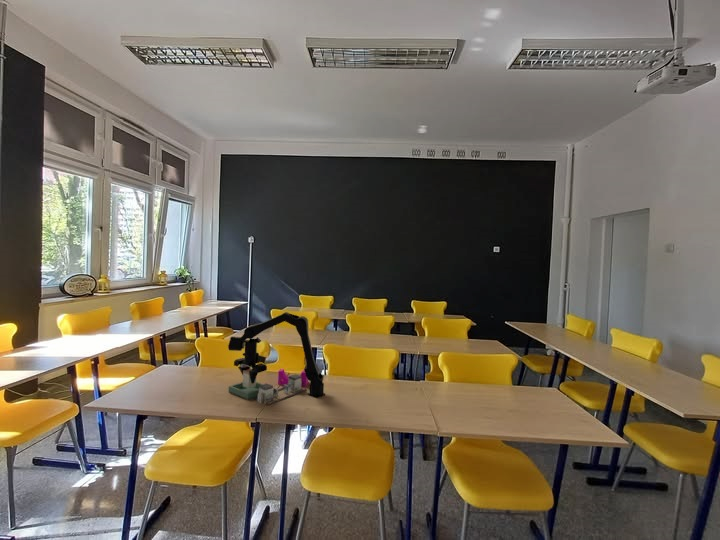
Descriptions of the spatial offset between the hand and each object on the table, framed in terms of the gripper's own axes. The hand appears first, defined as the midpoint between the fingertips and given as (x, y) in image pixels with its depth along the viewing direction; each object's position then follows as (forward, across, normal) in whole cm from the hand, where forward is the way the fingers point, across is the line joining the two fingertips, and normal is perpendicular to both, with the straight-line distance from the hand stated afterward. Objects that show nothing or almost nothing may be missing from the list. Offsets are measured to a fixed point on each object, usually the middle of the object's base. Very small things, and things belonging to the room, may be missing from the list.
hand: (249, 382), depth 179 cm
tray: (+5, 0, 0) cm, 5 cm away
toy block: (+6, -7, -24) cm, 25 cm away
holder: (+5, -14, -8) cm, 17 cm away
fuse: (+2, 0, 0) cm, 2 cm away
